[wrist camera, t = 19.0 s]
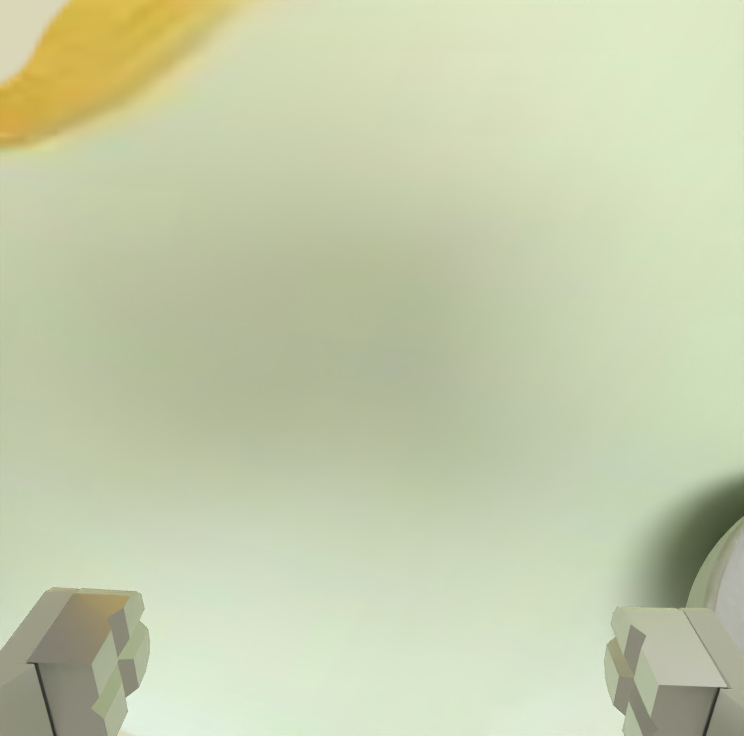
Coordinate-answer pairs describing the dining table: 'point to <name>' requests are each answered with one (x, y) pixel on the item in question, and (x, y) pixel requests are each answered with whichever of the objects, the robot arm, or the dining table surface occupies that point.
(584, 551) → the dining table surface
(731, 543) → the decorative bowl
